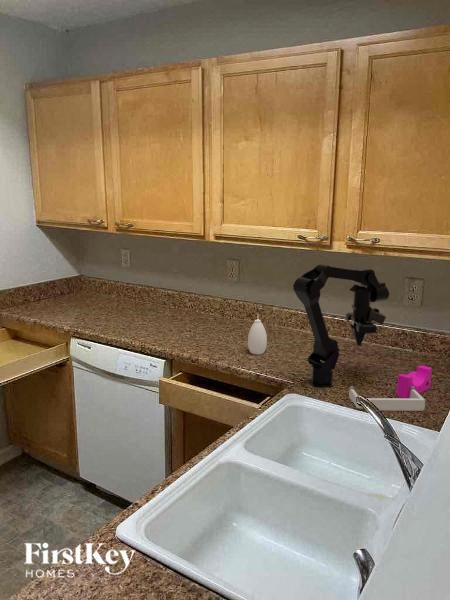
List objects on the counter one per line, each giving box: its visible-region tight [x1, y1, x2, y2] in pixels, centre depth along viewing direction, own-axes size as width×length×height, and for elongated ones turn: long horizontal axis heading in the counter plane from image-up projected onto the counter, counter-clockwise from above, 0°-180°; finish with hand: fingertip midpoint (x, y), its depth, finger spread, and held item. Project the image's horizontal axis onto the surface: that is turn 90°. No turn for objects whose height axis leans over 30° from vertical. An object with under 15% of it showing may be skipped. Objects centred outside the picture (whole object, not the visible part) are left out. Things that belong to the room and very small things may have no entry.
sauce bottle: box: [247, 315, 268, 356], centre depth 191 cm, size 8×8×18 cm
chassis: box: [348, 385, 426, 412], centre depth 147 cm, size 21×9×4 cm, turn 90°
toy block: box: [396, 365, 433, 398], centre depth 158 cm, size 15×6×8 cm, turn 129°
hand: (358, 345), depth 168 cm, fingers closed
